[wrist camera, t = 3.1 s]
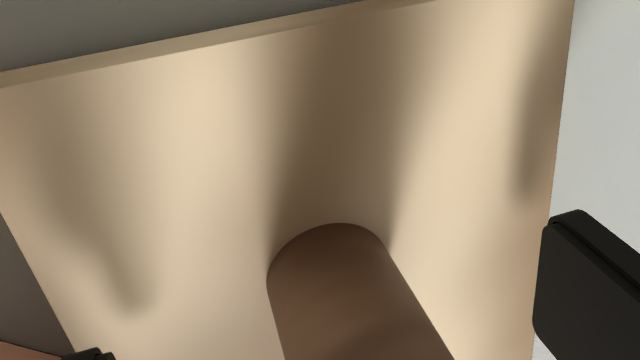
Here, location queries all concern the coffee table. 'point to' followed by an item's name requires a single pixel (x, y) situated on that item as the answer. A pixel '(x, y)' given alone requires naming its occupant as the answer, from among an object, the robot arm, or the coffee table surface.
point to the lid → (296, 183)
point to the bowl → (22, 353)
